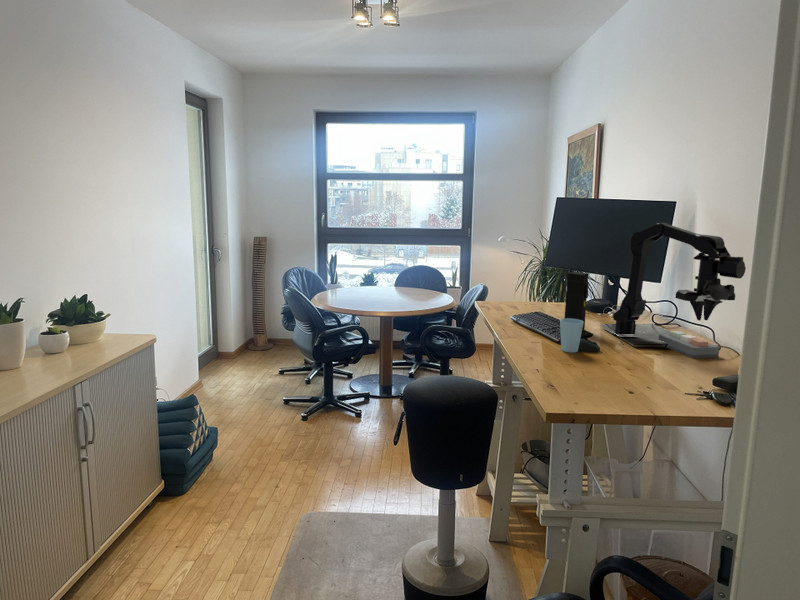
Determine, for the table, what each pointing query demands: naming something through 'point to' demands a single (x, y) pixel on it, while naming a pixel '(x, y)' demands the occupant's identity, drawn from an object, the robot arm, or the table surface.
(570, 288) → the portable radio
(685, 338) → the cream key
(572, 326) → the cup
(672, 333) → the sage key
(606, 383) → the table surface
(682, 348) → the keypad
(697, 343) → the terracotta key
